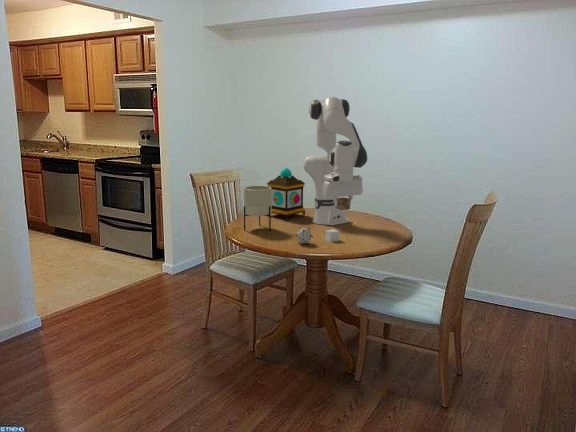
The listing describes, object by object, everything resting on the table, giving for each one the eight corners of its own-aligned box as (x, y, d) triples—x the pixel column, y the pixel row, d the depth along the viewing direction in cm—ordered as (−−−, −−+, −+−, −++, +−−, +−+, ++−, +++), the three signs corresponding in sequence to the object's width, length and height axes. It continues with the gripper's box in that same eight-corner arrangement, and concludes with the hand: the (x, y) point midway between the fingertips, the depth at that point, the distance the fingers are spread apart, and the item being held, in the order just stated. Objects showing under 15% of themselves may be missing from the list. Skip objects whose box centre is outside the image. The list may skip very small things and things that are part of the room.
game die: (299, 250, 230) (290, 232, 232) (314, 243, 232) (305, 225, 234) (302, 246, 222) (293, 228, 224) (318, 238, 224) (308, 220, 226)
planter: (239, 227, 260) (238, 186, 255) (264, 224, 267) (264, 184, 262) (249, 233, 247) (248, 190, 242) (276, 230, 254) (276, 188, 249)
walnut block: (344, 207, 223) (344, 197, 222) (349, 209, 219) (350, 198, 218) (335, 208, 221) (335, 197, 220) (340, 210, 217) (341, 199, 216)
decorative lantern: (263, 216, 289) (262, 167, 282) (284, 211, 303) (285, 165, 296) (286, 221, 275) (287, 170, 269) (308, 216, 290) (309, 167, 283)
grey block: (333, 238, 239) (334, 229, 238) (338, 240, 234) (339, 231, 233) (325, 239, 237) (325, 230, 235) (330, 242, 232) (330, 232, 231)
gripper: (358, 174, 224) (357, 202, 227) (321, 176, 215) (320, 205, 218) (365, 175, 218) (364, 204, 221) (328, 178, 209) (327, 208, 213)
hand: (342, 205), depth 220 cm, fingers closed on walnut block, 5 cm apart
